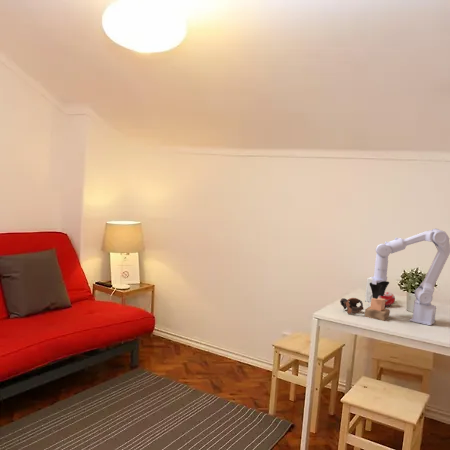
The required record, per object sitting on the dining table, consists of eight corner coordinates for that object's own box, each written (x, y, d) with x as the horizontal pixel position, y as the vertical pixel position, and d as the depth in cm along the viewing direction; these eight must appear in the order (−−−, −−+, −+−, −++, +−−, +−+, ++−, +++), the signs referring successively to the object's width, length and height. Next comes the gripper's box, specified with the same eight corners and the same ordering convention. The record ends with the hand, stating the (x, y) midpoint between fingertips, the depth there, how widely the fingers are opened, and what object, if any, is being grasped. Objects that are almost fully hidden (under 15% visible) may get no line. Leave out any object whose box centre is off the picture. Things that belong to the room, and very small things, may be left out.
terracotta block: (384, 309, 228) (385, 299, 228) (380, 311, 224) (381, 300, 224) (374, 307, 231) (375, 296, 231) (370, 308, 227) (371, 298, 227)
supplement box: (382, 301, 259) (384, 278, 257) (378, 304, 253) (380, 280, 251) (368, 298, 263) (370, 276, 261) (364, 301, 257) (366, 278, 255)
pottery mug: (364, 313, 235) (367, 301, 230) (356, 324, 229) (359, 312, 224) (342, 302, 241) (345, 290, 236) (333, 313, 235) (336, 301, 230)
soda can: (371, 289, 248) (389, 289, 253) (366, 300, 251) (384, 299, 256) (379, 298, 242) (397, 297, 247) (374, 309, 245) (392, 308, 250)
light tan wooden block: (389, 317, 229) (389, 309, 228) (383, 321, 221) (384, 313, 221) (370, 313, 234) (371, 305, 233) (364, 317, 226) (365, 309, 226)
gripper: (378, 266, 234) (375, 293, 235) (366, 269, 223) (364, 297, 224) (392, 268, 230) (389, 296, 231) (381, 272, 218) (378, 300, 220)
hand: (378, 297), depth 227 cm, fingers open, 7 cm apart
